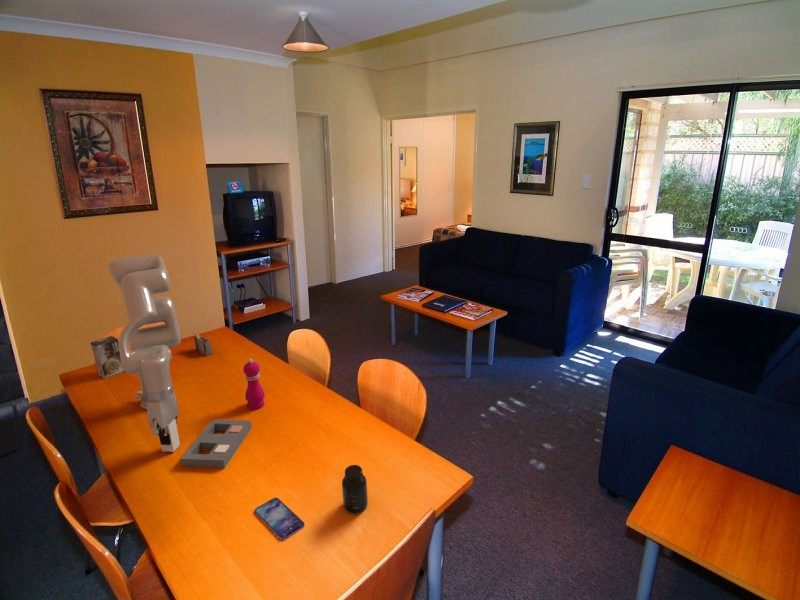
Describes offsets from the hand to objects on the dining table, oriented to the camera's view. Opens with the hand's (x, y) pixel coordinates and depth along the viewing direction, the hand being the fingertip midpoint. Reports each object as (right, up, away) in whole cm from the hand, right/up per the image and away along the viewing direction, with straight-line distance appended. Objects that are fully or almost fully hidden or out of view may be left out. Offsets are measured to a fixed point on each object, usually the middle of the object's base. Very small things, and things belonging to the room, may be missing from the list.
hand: (169, 439), depth 154 cm
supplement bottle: (+64, -11, -24) cm, 70 cm away
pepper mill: (+20, +5, +27) cm, 34 cm away
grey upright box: (-20, +20, +75) cm, 80 cm away
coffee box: (-53, +13, +55) cm, 78 cm away
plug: (0, -3, +1) cm, 3 cm away
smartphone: (+44, -13, -28) cm, 54 cm away
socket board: (+15, -3, +3) cm, 16 cm away
